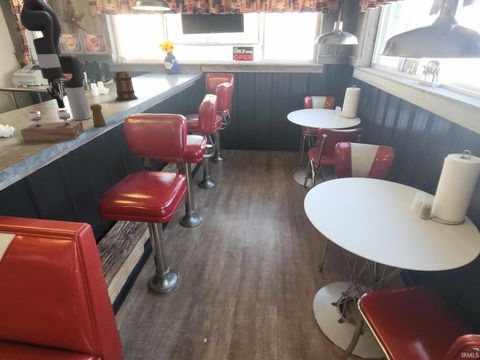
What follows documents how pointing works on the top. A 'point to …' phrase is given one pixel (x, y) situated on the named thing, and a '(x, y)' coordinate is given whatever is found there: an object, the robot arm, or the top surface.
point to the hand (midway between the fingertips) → (62, 108)
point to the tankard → (124, 87)
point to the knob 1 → (35, 117)
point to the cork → (97, 115)
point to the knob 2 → (64, 115)
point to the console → (52, 131)
